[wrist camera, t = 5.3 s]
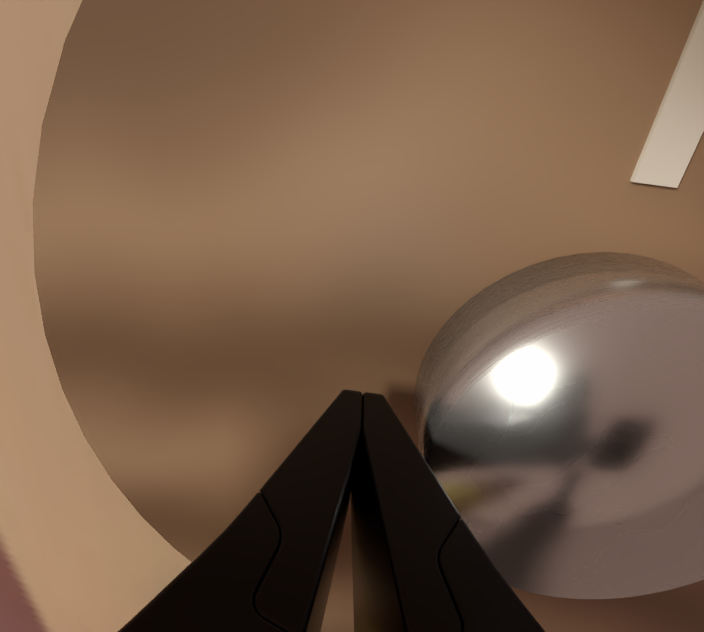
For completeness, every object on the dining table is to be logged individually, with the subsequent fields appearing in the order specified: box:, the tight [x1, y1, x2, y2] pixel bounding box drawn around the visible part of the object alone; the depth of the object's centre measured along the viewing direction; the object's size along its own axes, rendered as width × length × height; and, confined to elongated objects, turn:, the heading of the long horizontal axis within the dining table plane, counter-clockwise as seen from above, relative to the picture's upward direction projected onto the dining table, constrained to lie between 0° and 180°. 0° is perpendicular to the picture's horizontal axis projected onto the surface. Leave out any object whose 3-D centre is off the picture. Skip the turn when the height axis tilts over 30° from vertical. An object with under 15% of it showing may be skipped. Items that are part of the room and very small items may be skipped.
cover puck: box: [414, 252, 704, 599], centre depth 9 cm, size 7×7×2 cm
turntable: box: [33, 0, 704, 632], centre depth 9 cm, size 24×24×6 cm
